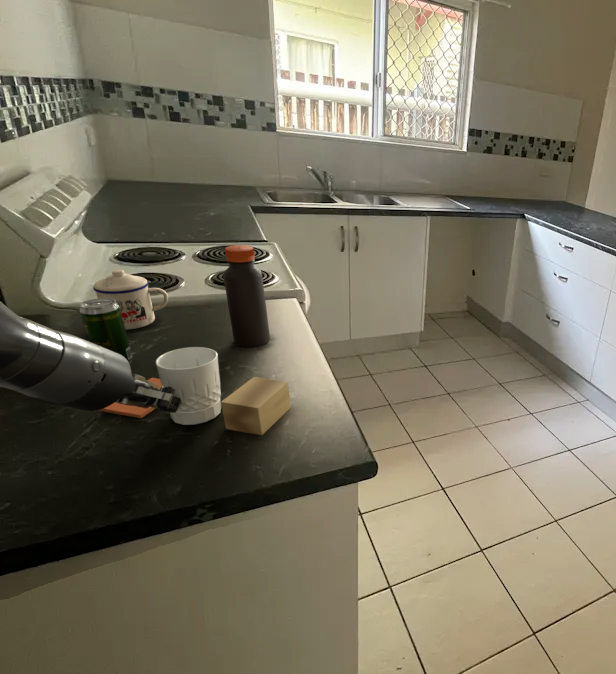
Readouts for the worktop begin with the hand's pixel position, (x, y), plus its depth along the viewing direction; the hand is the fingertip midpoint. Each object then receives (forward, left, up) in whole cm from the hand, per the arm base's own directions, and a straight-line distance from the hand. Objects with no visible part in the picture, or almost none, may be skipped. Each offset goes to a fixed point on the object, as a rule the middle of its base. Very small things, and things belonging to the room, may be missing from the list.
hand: (174, 405), depth 70 cm
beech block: (+11, 0, -4) cm, 12 cm away
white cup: (+2, +4, -4) cm, 6 cm away
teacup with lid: (-15, +44, -4) cm, 47 cm away
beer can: (-14, +24, -4) cm, 28 cm away
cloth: (-6, +10, -4) cm, 13 cm away
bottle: (+8, +30, -4) cm, 31 cm away
